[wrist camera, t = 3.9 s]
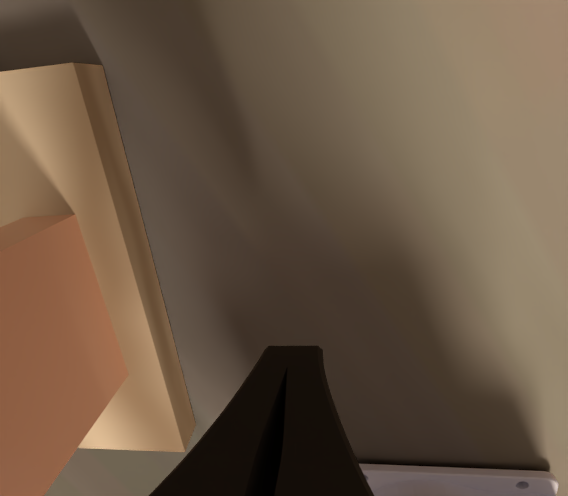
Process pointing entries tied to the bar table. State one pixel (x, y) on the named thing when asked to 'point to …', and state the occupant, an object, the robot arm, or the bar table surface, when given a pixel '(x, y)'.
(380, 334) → the bar table surface
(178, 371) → the birch board
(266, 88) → the bar table surface
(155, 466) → the bar table surface
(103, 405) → the peach rectangular block
